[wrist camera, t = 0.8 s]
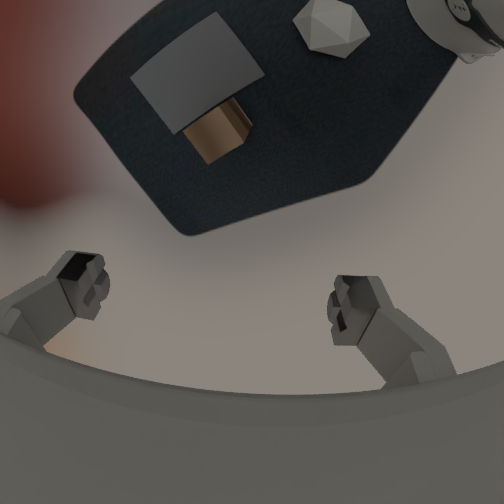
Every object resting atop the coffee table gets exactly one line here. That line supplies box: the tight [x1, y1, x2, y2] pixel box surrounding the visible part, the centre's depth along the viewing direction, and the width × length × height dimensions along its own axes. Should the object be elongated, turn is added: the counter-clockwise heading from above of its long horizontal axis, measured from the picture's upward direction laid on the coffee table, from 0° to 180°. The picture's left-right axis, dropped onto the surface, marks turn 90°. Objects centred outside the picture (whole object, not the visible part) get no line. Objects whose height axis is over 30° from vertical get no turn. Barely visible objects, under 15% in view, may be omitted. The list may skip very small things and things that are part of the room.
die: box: [293, 0, 370, 58], centre depth 23 cm, size 8×9×10 cm
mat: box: [130, 12, 265, 134], centre depth 31 cm, size 16×12×1 cm
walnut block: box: [183, 97, 252, 164], centre depth 32 cm, size 5×5×10 cm
